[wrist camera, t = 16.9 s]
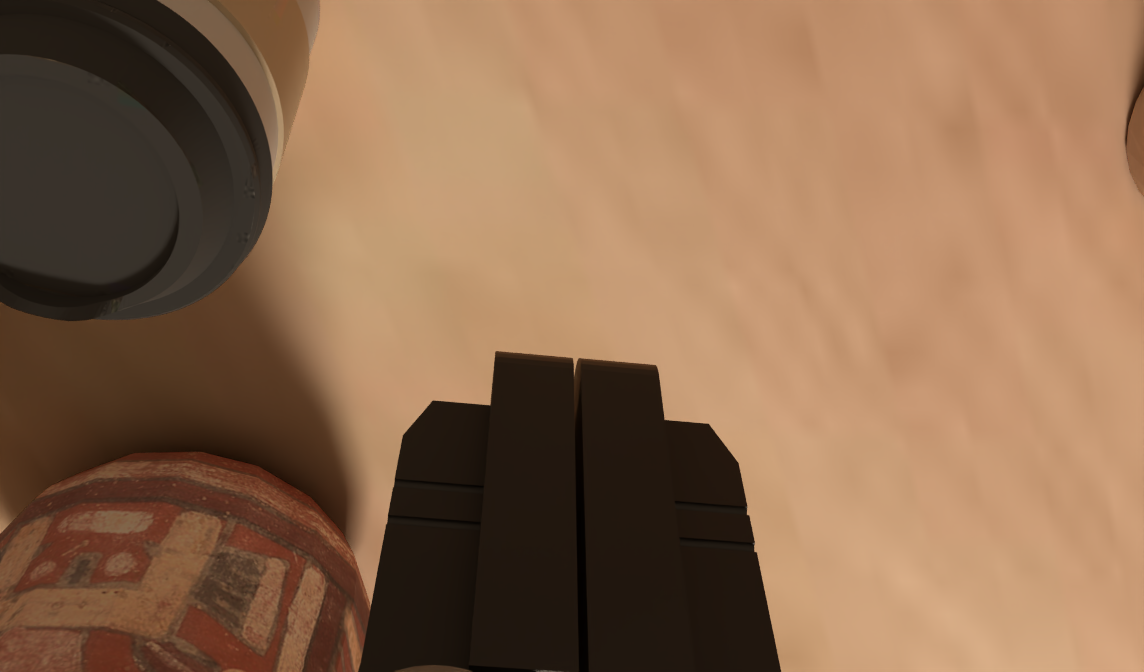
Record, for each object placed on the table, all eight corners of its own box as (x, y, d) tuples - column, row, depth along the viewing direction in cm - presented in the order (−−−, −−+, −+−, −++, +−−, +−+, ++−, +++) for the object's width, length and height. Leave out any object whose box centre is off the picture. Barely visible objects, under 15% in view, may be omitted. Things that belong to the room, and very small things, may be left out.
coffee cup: (85, -186, 34) (-191, -57, 21) (374, -99, 35) (274, 69, 23) (73, 83, 39) (-157, 315, 26) (328, 149, 40) (224, 399, 28)
